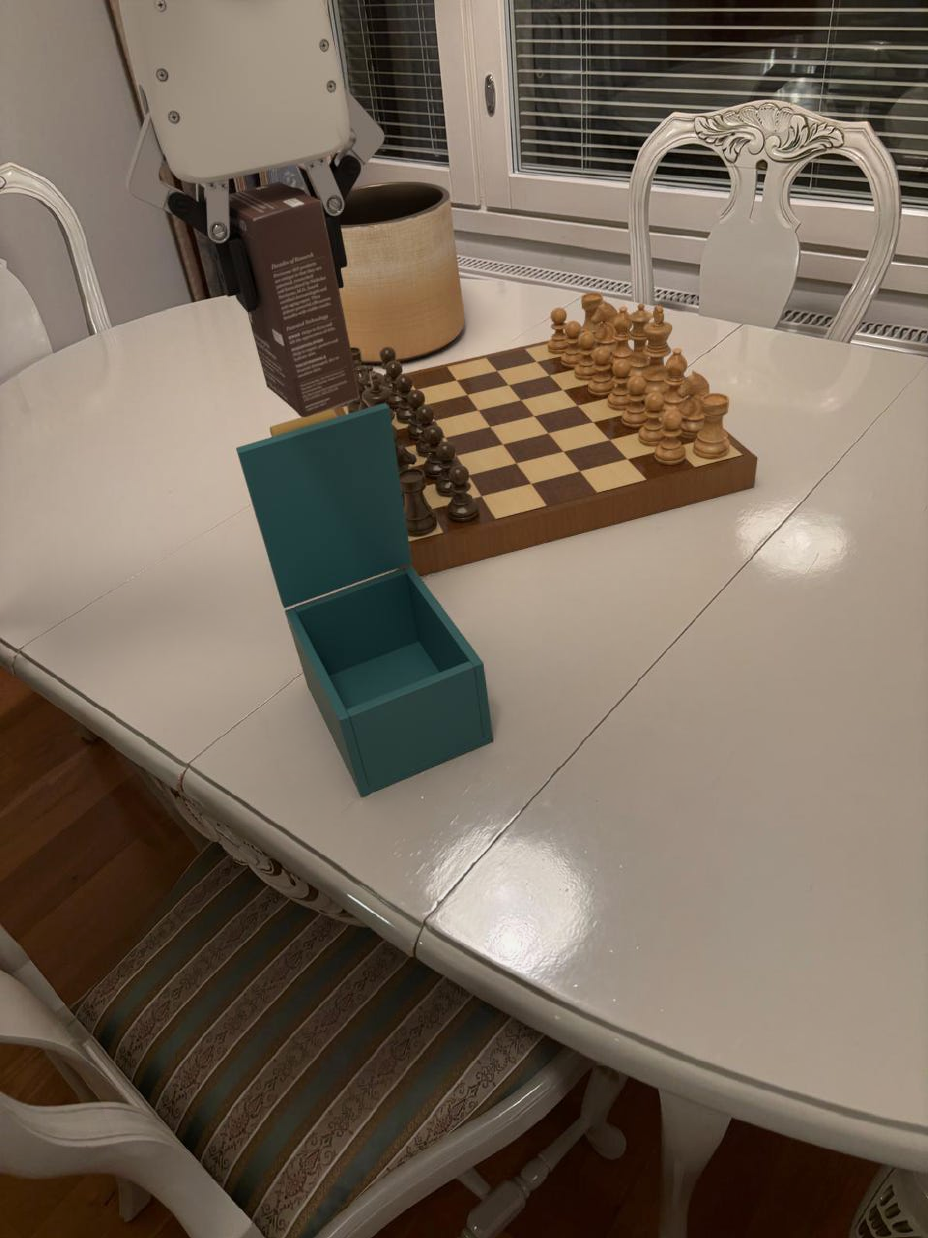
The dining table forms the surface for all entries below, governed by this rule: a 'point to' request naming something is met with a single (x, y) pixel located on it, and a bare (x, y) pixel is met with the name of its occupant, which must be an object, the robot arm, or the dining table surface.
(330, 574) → the lid
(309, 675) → the chest
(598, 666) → the dining table surface
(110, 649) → the dining table surface
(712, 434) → the chess set
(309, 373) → the box
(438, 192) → the planter
